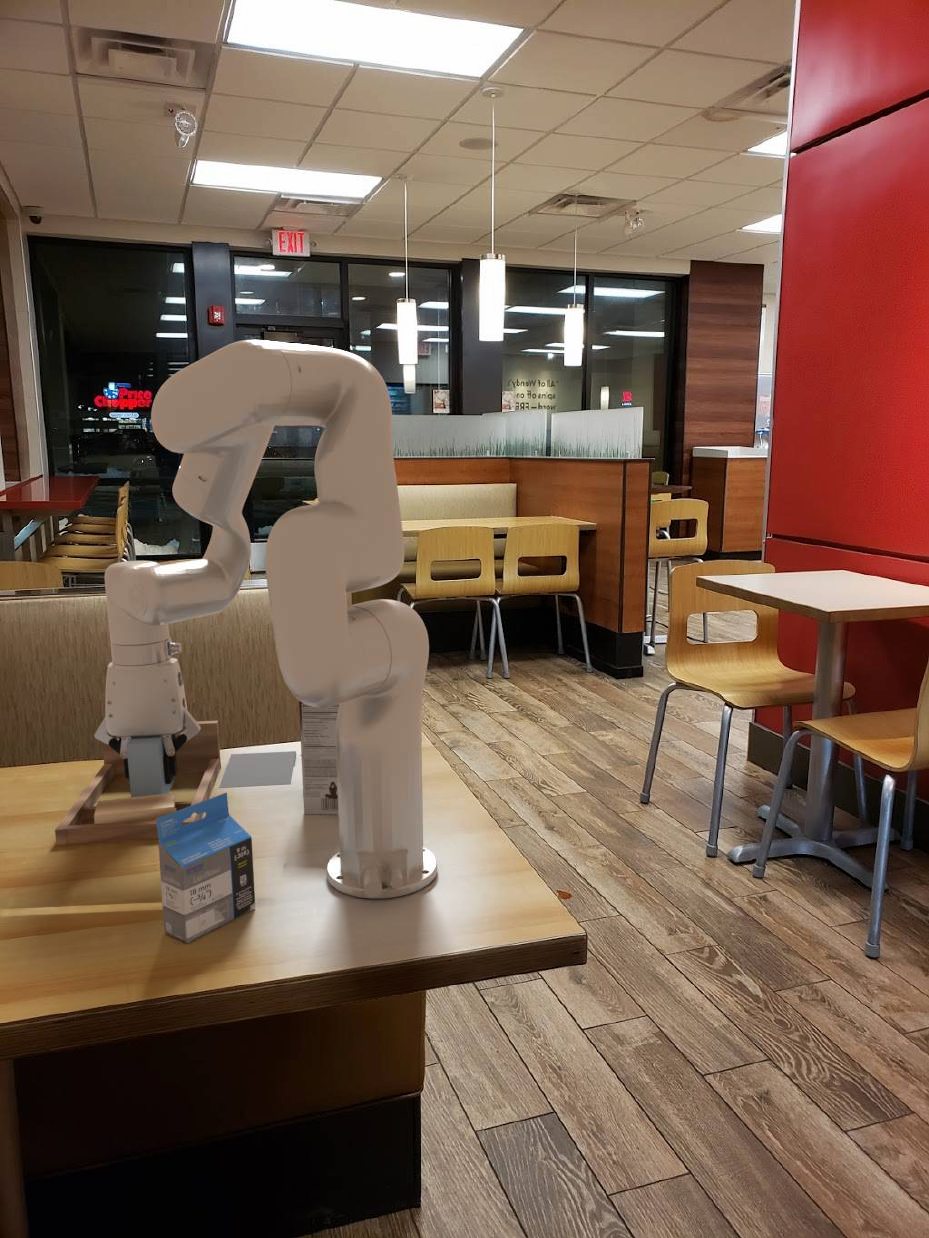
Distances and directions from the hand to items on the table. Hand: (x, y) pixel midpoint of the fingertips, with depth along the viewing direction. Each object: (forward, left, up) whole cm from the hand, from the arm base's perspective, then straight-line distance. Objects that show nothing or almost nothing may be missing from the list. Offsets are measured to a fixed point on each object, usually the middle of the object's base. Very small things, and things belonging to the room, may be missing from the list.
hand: (152, 780), depth 126 cm
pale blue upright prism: (0, 0, -2) cm, 2 cm away
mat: (+8, -14, -3) cm, 16 cm away
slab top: (-11, 0, -1) cm, 11 cm away
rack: (-3, 0, -3) cm, 4 cm away
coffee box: (-5, -25, -3) cm, 25 cm away
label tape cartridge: (-35, -13, -3) cm, 37 cm away
